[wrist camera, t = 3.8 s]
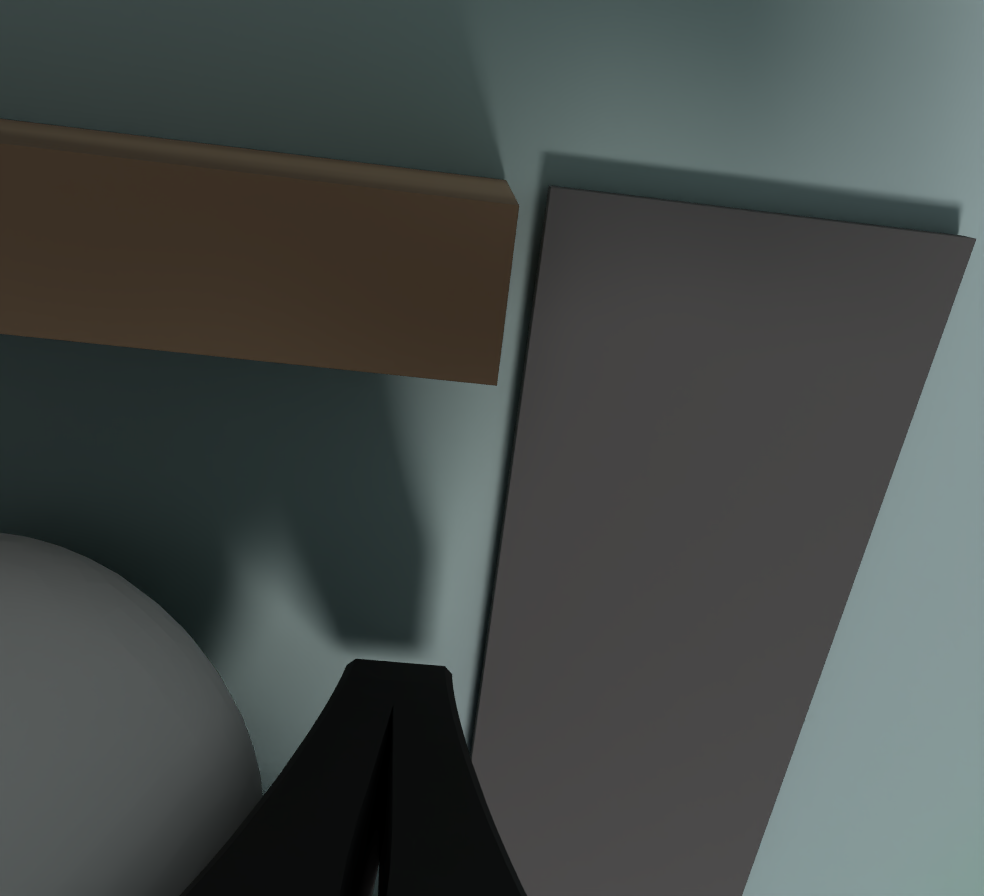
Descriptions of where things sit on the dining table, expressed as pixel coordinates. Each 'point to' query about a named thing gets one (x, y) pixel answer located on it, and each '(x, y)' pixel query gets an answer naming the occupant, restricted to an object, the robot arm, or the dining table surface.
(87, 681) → the cup
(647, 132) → the dining table surface
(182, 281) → the channel
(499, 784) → the pad
